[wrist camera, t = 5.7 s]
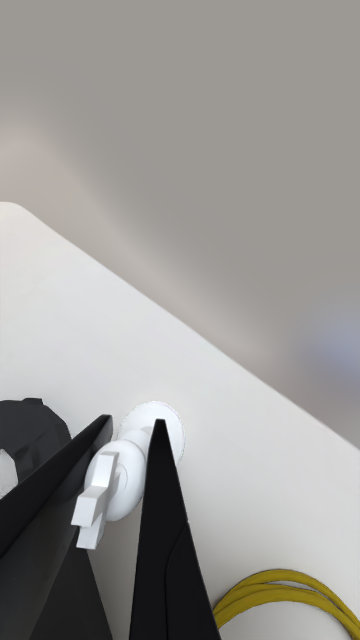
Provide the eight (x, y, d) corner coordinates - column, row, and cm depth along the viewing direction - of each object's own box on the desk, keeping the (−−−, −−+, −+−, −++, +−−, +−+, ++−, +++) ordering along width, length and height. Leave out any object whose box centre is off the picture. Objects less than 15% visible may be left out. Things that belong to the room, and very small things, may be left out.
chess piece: (187, 404, 14) (200, 397, 5) (182, 485, 11) (191, 771, 2) (126, 398, 14) (30, 381, 5) (110, 477, 11) (-125, 717, 3)
